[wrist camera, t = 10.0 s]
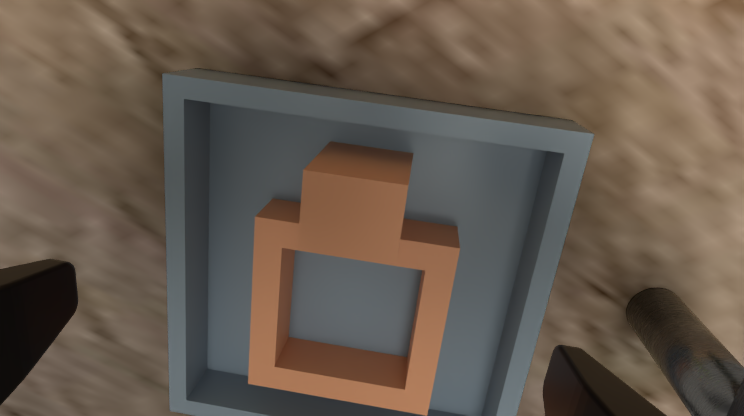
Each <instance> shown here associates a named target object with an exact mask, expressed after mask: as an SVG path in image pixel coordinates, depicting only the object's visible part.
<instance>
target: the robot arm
mask: <svg viewBox="0 0 744 416" xmlns="http://www.w3.org/2000/svg"><path fill="white" fill-rule="evenodd" d="M77 305H78V293H77V283H76V273H75V268H74V266H73V265H72V264H71V263H70V262H66V261H60V260H54V259H46V260H42V261H37V262H32V263H27V264H23V265H18V266H13V267H8V268H4V269H0V405H1V404H2V403H3V402H4V401H5V400H6V399H7V398H8V396H9V395H10V394H11V393H12V392H13V391H14V390H15V389H16V388H17V386H18V385H19V384H20V383H21V382H22V381H23V380H24V378H25V377H26V376H27V375H28V373H29V372H30V371H31V370H32V368H33V367H34V366H35V365H36V363H37V362H38V361H39V359H40V358H41V357H42V355H43V354H44V353H45V351H46V350H47V349H48V348H49V346H50V345H51V344H52V342H53V341H54V340H55V338H56V337H57V336H58V334H59V333H60V332H61V330H62V329H63V328H64V327H65V325H66V324H67V323H68V321H69V320H70V319H71V317H72V316H73V315H74V313H75V311H76V309H77ZM543 401H544V409H545V416H666V415H665V414H664V413H663V412H661V411H660V410H659V409H657V408H656V407H655V406H654V405H652V404H651V403H650V402H649V401H647V400H646V399H645V398H643V397H642V396H641V395H640V394H638V393H637V392H636V391H635V390H633V389H632V388H631V387H629V386H628V385H627V384H626V383H624V382H623V381H622V380H620V379H619V378H618V377H617V376H615V375H614V374H613V373H612V372H610V371H609V370H608V369H606V368H605V367H604V366H603V365H601V364H600V363H599V362H598V361H596V360H595V359H594V358H592V357H591V356H590V355H589V354H587V353H586V352H585V351H584V350H582V349H580V348H577V347H571V346H565V345H558V346H556V347H555V349H554V350H553V353H552V356H551V360H550V363H549V367H548V370H547V373H546V377H545V380H544V385H543Z"/></svg>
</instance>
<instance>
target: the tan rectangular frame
mask: <svg viewBox="0 0 744 416" xmlns="http://www.w3.org/2000/svg"><path fill="white" fill-rule="evenodd" d="M412 159H413V153H409V152H402V151H395V150H388V149H381V148H374V147H367V146H360V145H353V144H346V143H339V142H332V141H330V142H329V143H328V144H327V145H326V146H325V147H324V149H323V150H322V151H321V152H320V153H319V154H318V155H317V156H316V157H315V158H314V159H313V160H312V161H311V162H310V163H309V164H308V165H307V166H306V168H305V169H304V170H303V180H302V193H301V203H299V202H292V201H286V200H279V199H272V200H271V201H270V202H269V203H268V204H267V205H266V206H265V207H264V208H263V209H262V210H261V211H260V212H259V213H258V214H257V215H256V216H255V227H254V251H253V276H252V300H251V325H250V349H249V374H248V384H252V385H258V386H263V387H269V388H275V389H280V390H286V391H291V392H297V393H303V394H308V395H314V396H319V397H325V398H331V399H336V400H342V401H347V402H353V403H359V404H364V405H370V406H375V407H381V408H386V409H392V410H398V411H403V412H409V413H414V414H420V415H426V416H427V415H428V409H429V404H430V399H431V394H432V389H433V384H434V379H435V374H436V369H437V364H438V359H439V354H440V348H441V343H442V338H443V333H444V328H445V323H446V318H447V313H448V308H449V303H450V298H451V293H452V287H453V282H454V277H455V272H456V267H457V262H458V257H459V252H460V243H459V236H458V228H457V226H450V225H443V224H437V223H430V222H424V221H417V220H411V219H404V213H405V206H406V199H407V193H408V186H409V179H410V173H411V166H412ZM295 250H298V251H305V252H311V253H317V254H324V255H330V256H336V257H342V258H349V259H355V260H361V261H368V262H374V263H380V264H386V265H393V266H399V267H405V268H412V269H418V270H422V275H421V280H420V286H419V292H418V298H417V304H416V310H415V316H414V321H413V327H412V333H411V339H410V345H409V351H408V356H407V357H403V356H397V355H391V354H385V353H380V352H374V351H368V350H362V349H356V348H350V347H345V346H339V345H333V344H327V343H321V342H315V341H310V340H304V339H298V338H292V337H289V326H290V312H291V298H292V284H293V270H294V257H295Z"/></svg>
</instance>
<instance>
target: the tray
mask: <svg viewBox="0 0 744 416" xmlns="http://www.w3.org/2000/svg"><path fill="white" fill-rule="evenodd" d="M162 79H163V125H164V171H165V217H166V263H167V309H168V355H169V402H170V411H173V412H178V413H184V414H189V415H194V416H426V415H420V414H414V413H409V412H403V411H398V410H392V409H386V408H381V407H375V406H370V405H364V404H359V403H353V402H347V401H342V400H336V399H331V398H325V397H319V396H314V395H308V394H303V393H297V392H291V391H286V390H280V389H275V388H269V387H263V386H258V385H252V384H248V374H249V349H250V325H251V300H252V276H253V251H254V227H255V216H256V215H257V214H258V213H259V212H260V211H261V210H262V209H263V208H264V207H265V206H266V205H267V204H268V203H269V202H270V201H271V200H272V199H279V200H286V201H292V202H299V203H301V193H302V180H303V170H304V169H305V168H306V166H307V165H308V164H309V163H310V162H311V161H312V160H313V159H314V158H315V157H316V156H317V155H318V154H319V153H320V152H321V151H322V150H323V149H324V147H325V146H326V145H327V144H328V143H329V142H330V141H332V142H339V143H346V144H353V145H360V146H367V147H374V148H381V149H388V150H395V151H402V152H409V153H413V159H412V166H411V173H410V179H409V186H408V193H407V199H406V206H405V213H404V219H411V220H417V221H424V222H430V223H437V224H443V225H450V226H457V228H458V236H459V243H460V252H459V257H458V262H457V267H456V272H455V277H454V282H453V287H452V293H451V298H450V303H449V308H448V313H447V318H446V323H445V328H444V333H443V338H442V343H441V348H440V354H439V359H438V364H437V369H436V374H435V379H434V384H433V389H432V394H431V399H430V404H429V409H428V415H427V416H516V414H517V411H518V407H519V404H520V400H521V396H522V393H523V389H524V386H525V382H526V378H527V375H528V371H529V368H530V364H531V360H532V357H533V353H534V350H535V346H536V342H537V339H538V335H539V332H540V328H541V324H542V321H543V317H544V314H545V310H546V306H547V303H548V299H549V296H550V292H551V288H552V285H553V281H554V278H555V274H556V270H557V267H558V263H559V260H560V256H561V252H562V249H563V245H564V242H565V238H566V234H567V231H568V227H569V224H570V220H571V216H572V213H573V209H574V206H575V202H576V198H577V195H578V191H579V188H580V184H581V180H582V177H583V173H584V170H585V166H586V162H587V159H588V155H589V152H590V148H591V144H592V141H593V137H594V134H593V133H592V132H590V131H589V130H587V129H585V128H584V127H582V126H581V125H579V124H577V123H576V122H574V121H573V120H567V119H559V118H552V117H545V116H538V115H531V114H523V113H516V112H509V111H502V110H495V109H487V108H480V107H473V106H466V105H459V104H451V103H444V102H437V101H430V100H423V99H416V98H408V97H401V96H394V95H387V94H380V93H372V92H365V91H358V90H351V89H344V88H336V87H329V86H322V85H315V84H308V83H300V82H293V81H286V80H279V79H272V78H264V77H257V76H250V75H243V74H236V73H228V72H221V71H214V70H207V69H200V68H195V69H189V70H182V71H175V72H169V73H162ZM421 275H422V270H418V269H412V268H405V267H399V266H393V265H386V264H380V263H374V262H368V261H361V260H355V259H349V258H342V257H336V256H330V255H324V254H317V253H311V252H305V251H298V250H295V257H294V270H293V284H292V298H291V312H290V326H289V337H292V338H298V339H304V340H310V341H315V342H321V343H327V344H333V345H339V346H345V347H350V348H356V349H362V350H368V351H374V352H380V353H385V354H391V355H397V356H403V357H407V356H408V351H409V345H410V339H411V333H412V327H413V321H414V316H415V310H416V304H417V298H418V292H419V286H420V280H421Z"/></svg>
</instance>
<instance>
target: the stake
mask: <svg viewBox="0 0 744 416" xmlns="http://www.w3.org/2000/svg"><path fill="white" fill-rule="evenodd" d="M626 315H627V319H628V322H629V323H630V325H631V326H632V328H633V329H634V331H635V332H636V334H637V335H638V337H639V338H640V340H641V341H642V343H643V344H644V346H645V347H646V349H647V350H648V352H649V353H650V355H651V356H652V357H653V359H654V360H655V362H656V363H657V365H658V366H659V368H660V369H661V371H662V372H663V374H664V375H665V377H666V378H667V380H668V381H669V383H670V384H671V386H672V387H673V389H674V390H675V391H676V393H677V394H678V396H679V397H680V399H681V400H682V402H683V403H684V405H685V406H686V408H687V409H688V411H689V412H690V414H691V415H692V416H744V367H743V366H742V365H741V364H740V363H739V362H738V361H737V360H736V359H735V358H734V356H733V355H732V354H731V353H730V352H729V351H728V350H727V349H726V348H725V347H724V346H723V345H722V344H721V342H720V341H719V340H718V339H717V338H716V337H715V336H714V335H713V334H712V333H711V332H710V331H709V330H708V328H707V327H706V326H705V325H704V324H703V323H702V322H701V321H700V320H699V319H698V318H697V317H696V316H695V314H694V313H693V312H692V311H691V310H690V309H689V308H688V307H687V306H686V305H685V304H684V303H683V302H682V300H681V299H680V298H679V297H678V296H677V295H676V294H675V293H673V292H672V291H670V290H667V289H663V288H651V289H647V290H644V291H642V292H640V293H639V294H637V295H636V296H635V297H634V298H633V299H632V300H631V301H630V303H629V304H628V307H627V312H626Z"/></svg>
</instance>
